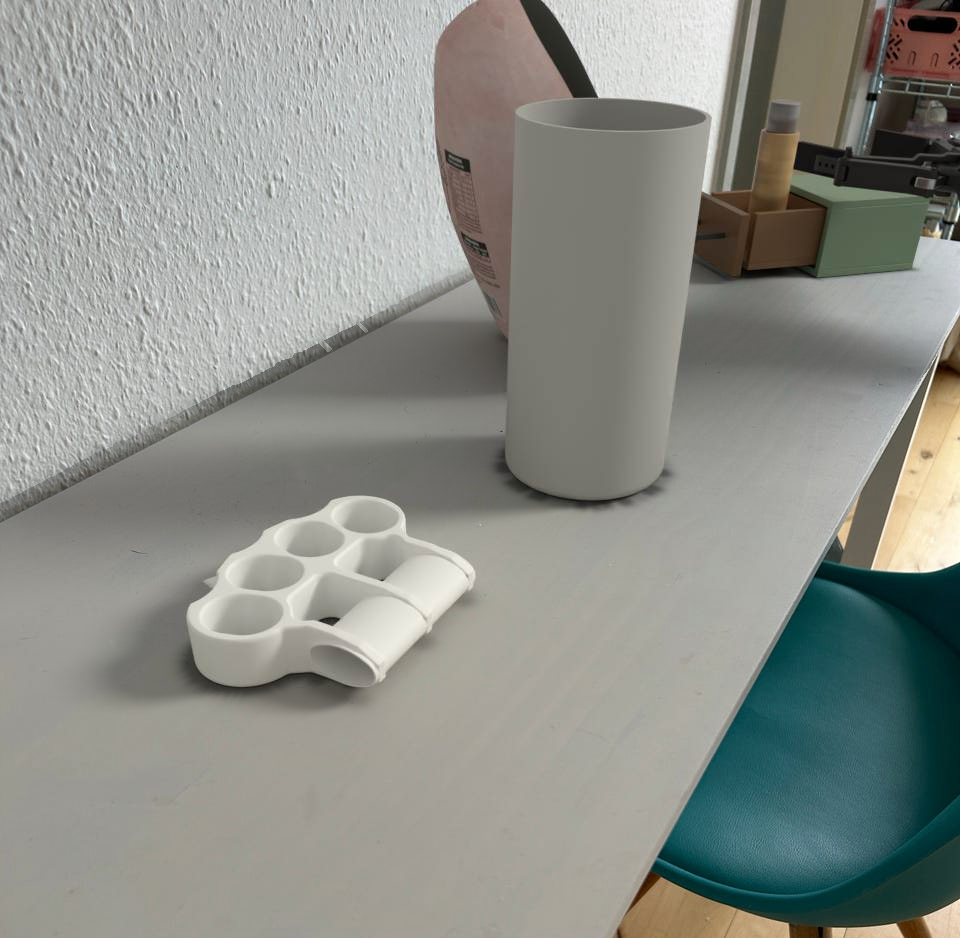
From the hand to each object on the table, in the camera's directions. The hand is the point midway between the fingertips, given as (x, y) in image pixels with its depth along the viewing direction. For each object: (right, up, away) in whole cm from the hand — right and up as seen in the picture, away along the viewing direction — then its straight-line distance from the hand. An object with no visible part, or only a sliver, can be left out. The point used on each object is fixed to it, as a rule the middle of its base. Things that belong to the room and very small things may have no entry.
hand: (837, 148), depth 110 cm
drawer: (-8, -8, +12) cm, 16 cm away
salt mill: (-5, -6, +12) cm, 15 cm away
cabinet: (+5, -6, +16) cm, 18 cm away
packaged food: (-34, -26, -12) cm, 45 cm away
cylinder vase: (-32, -41, -31) cm, 61 cm away
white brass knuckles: (-49, -53, -48) cm, 87 cm away
